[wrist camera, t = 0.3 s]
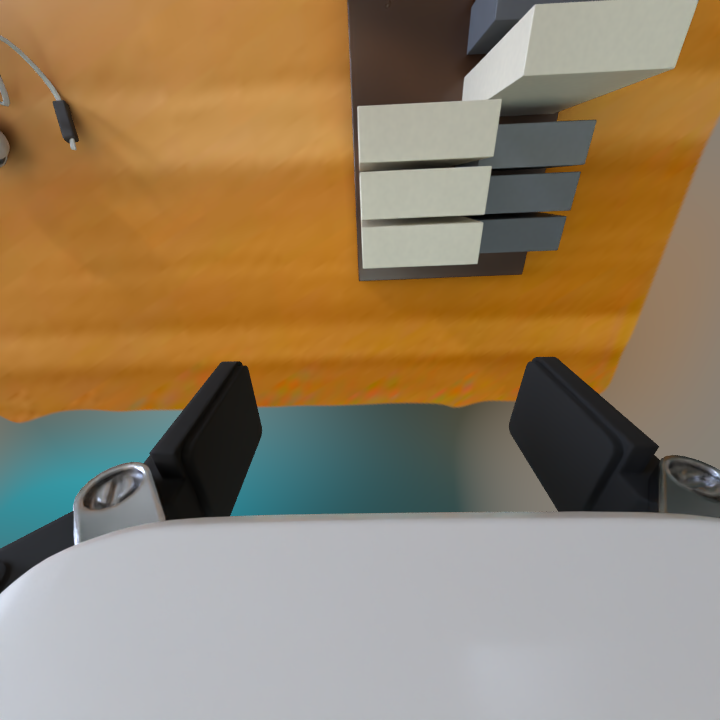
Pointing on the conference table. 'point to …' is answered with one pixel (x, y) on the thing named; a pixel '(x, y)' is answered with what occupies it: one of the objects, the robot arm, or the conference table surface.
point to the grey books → (525, 154)
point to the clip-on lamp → (61, 107)
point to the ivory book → (579, 53)
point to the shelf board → (418, 94)
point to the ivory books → (424, 181)
